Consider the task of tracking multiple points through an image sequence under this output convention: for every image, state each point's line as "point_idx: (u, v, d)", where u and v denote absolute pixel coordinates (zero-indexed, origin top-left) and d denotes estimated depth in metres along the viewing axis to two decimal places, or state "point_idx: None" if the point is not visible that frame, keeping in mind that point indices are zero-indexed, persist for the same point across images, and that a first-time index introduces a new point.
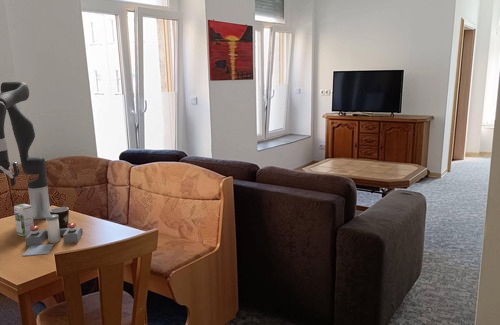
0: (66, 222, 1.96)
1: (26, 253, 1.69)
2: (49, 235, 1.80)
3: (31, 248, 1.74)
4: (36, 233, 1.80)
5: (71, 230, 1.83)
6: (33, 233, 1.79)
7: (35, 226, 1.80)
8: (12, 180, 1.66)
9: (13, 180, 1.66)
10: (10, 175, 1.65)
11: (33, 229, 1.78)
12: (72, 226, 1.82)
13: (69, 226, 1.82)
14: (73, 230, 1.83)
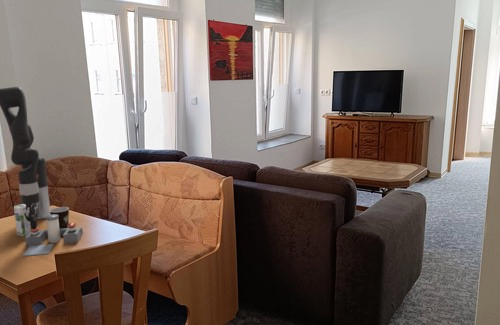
0: (66, 222, 1.96)
1: (26, 253, 1.69)
2: (49, 235, 1.80)
3: (31, 248, 1.74)
4: (36, 234, 1.80)
5: (71, 230, 1.83)
6: (33, 234, 1.79)
7: None
8: None
9: (35, 221, 1.81)
10: (35, 217, 1.79)
11: (33, 230, 1.79)
12: (72, 226, 1.82)
13: (69, 226, 1.82)
14: (73, 230, 1.83)
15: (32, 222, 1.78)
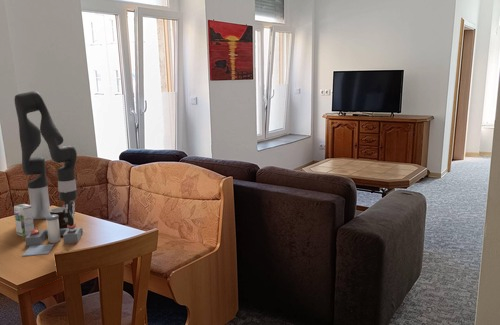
0: (66, 222, 1.96)
1: (26, 253, 1.69)
2: (49, 235, 1.80)
3: (31, 248, 1.74)
4: None
5: (71, 231, 1.83)
6: None
7: (35, 230, 1.81)
8: None
9: None
10: (73, 214, 1.83)
11: (33, 233, 1.79)
12: (72, 227, 1.82)
13: (69, 227, 1.82)
14: (73, 231, 1.83)
15: (70, 219, 1.81)
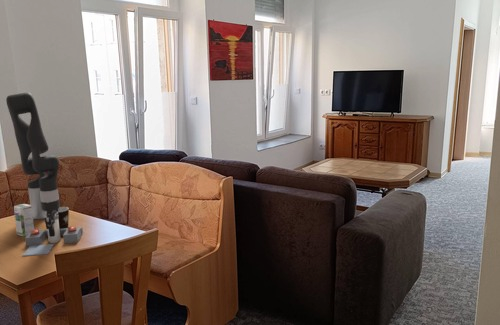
0: (66, 222, 1.96)
1: (26, 253, 1.69)
2: None
3: (31, 248, 1.74)
4: None
5: None
6: None
7: (35, 230, 1.81)
8: None
9: None
10: None
11: (33, 233, 1.79)
12: (72, 230, 1.82)
13: (69, 230, 1.82)
14: None
15: (51, 230, 1.78)
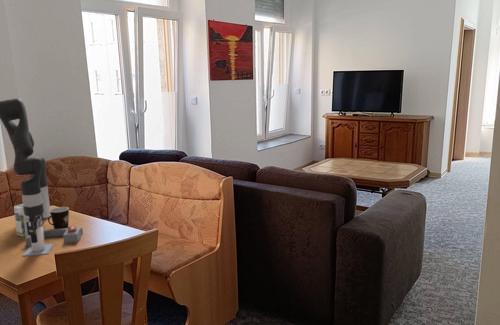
0: (66, 222, 1.96)
1: (26, 253, 1.69)
2: (32, 243, 1.70)
3: (31, 248, 1.74)
4: None
5: None
6: None
7: None
8: None
9: None
10: None
11: None
12: (72, 230, 1.82)
13: (69, 230, 1.82)
14: None
15: (33, 236, 1.66)
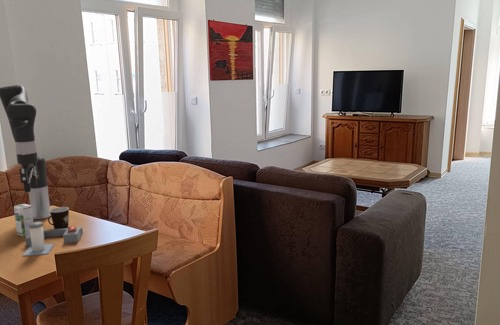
0: (66, 222, 1.96)
1: (26, 253, 1.69)
2: (32, 244, 1.70)
3: (31, 248, 1.74)
4: None
5: None
6: None
7: None
8: None
9: None
10: (36, 175, 1.70)
11: None
12: (72, 230, 1.82)
13: (69, 230, 1.82)
14: None
15: (26, 184, 1.61)
